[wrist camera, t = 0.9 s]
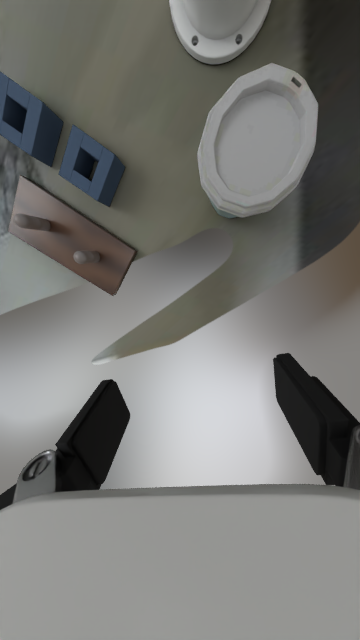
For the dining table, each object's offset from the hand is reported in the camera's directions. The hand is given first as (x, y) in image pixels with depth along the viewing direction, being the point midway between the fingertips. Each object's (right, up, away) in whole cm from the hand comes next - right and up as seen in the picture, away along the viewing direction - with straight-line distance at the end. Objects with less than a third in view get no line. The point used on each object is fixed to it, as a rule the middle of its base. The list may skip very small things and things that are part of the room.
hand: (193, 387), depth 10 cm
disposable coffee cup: (+7, +25, +19) cm, 32 cm away
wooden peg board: (-21, +19, +24) cm, 37 cm away
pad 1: (-23, +34, +18) cm, 45 cm away
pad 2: (-14, +28, +20) cm, 37 cm away
